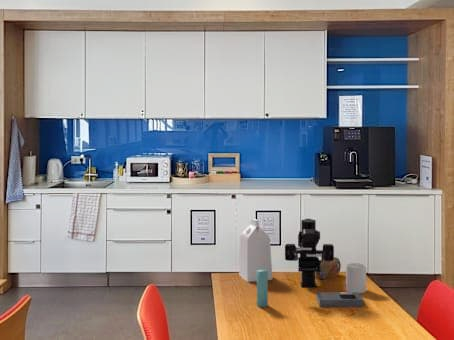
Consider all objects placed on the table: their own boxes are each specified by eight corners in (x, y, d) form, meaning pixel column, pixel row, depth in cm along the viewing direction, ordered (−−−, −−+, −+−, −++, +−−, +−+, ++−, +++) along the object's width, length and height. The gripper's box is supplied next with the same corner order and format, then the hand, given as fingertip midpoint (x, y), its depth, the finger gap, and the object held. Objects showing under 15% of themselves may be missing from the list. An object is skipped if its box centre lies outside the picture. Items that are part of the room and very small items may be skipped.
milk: (272, 279, 256) (271, 220, 254) (247, 281, 253) (246, 222, 251) (263, 273, 267) (262, 216, 266) (238, 275, 264) (238, 218, 262)
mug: (368, 293, 232) (368, 267, 231) (348, 293, 231) (348, 267, 231) (360, 285, 244) (360, 260, 243) (341, 285, 244) (341, 260, 243)
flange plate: (316, 298, 225) (316, 292, 225) (358, 298, 225) (358, 291, 224) (319, 306, 215) (319, 299, 215) (363, 306, 215) (363, 299, 214)
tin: (319, 280, 253) (319, 261, 252) (314, 279, 255) (313, 260, 254) (341, 274, 263) (341, 256, 262) (335, 273, 265) (335, 255, 264)
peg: (256, 303, 220) (256, 269, 219) (267, 303, 220) (267, 269, 219) (257, 307, 216) (256, 272, 215) (268, 307, 216) (267, 272, 215)
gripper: (285, 227, 234) (284, 237, 219) (332, 227, 232) (335, 238, 216) (285, 254, 236) (284, 266, 220) (332, 254, 234) (335, 267, 218)
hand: (309, 258), depth 219 cm, fingers open, 9 cm apart
